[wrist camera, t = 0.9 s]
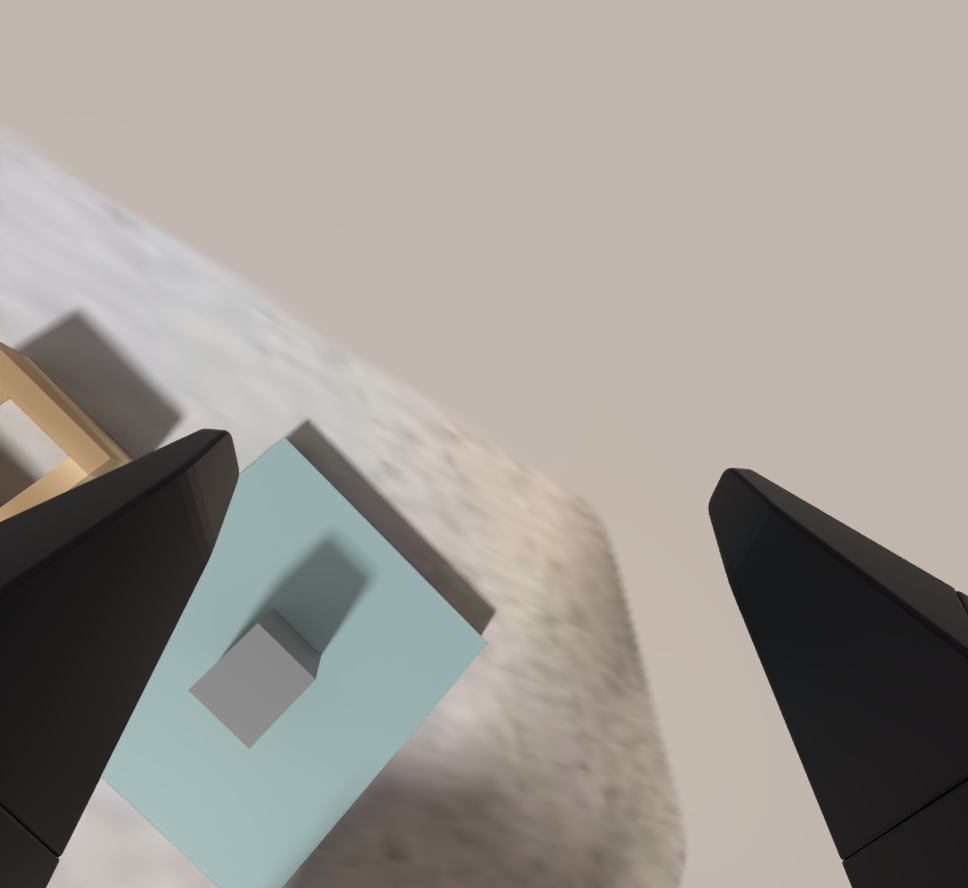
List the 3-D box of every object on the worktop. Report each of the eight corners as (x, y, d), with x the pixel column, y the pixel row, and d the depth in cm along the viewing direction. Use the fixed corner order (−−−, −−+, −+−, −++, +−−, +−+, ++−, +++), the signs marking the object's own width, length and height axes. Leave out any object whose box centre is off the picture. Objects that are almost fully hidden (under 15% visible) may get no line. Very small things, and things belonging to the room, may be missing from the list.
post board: (260, 894, 21) (231, 1012, 16) (19, 668, 20) (-94, 713, 15) (480, 637, 25) (514, 662, 20) (288, 443, 25) (272, 417, 20)
